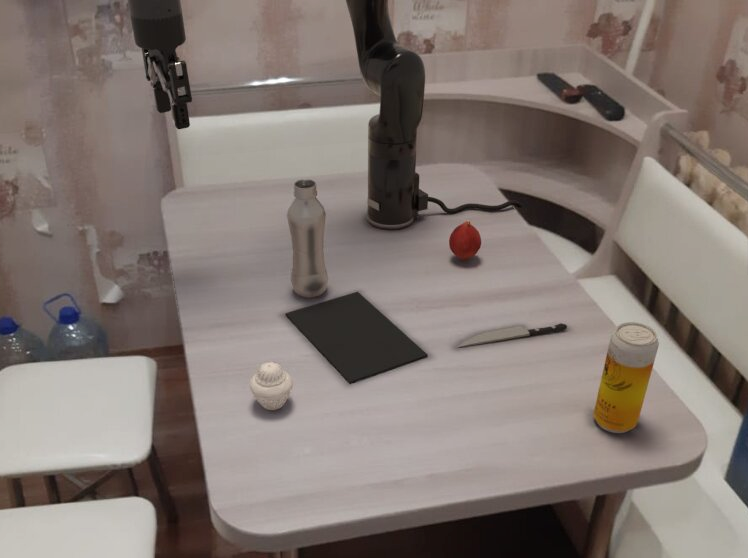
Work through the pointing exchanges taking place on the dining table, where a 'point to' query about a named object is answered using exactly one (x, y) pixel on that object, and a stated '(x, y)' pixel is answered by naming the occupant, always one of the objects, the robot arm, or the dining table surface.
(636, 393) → the beer can
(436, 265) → the dining table surface
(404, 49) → the robot arm
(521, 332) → the chef's knife
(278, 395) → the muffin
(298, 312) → the rubber mat
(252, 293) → the dining table surface
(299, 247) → the plastic bottle
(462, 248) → the onion
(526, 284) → the dining table surface
